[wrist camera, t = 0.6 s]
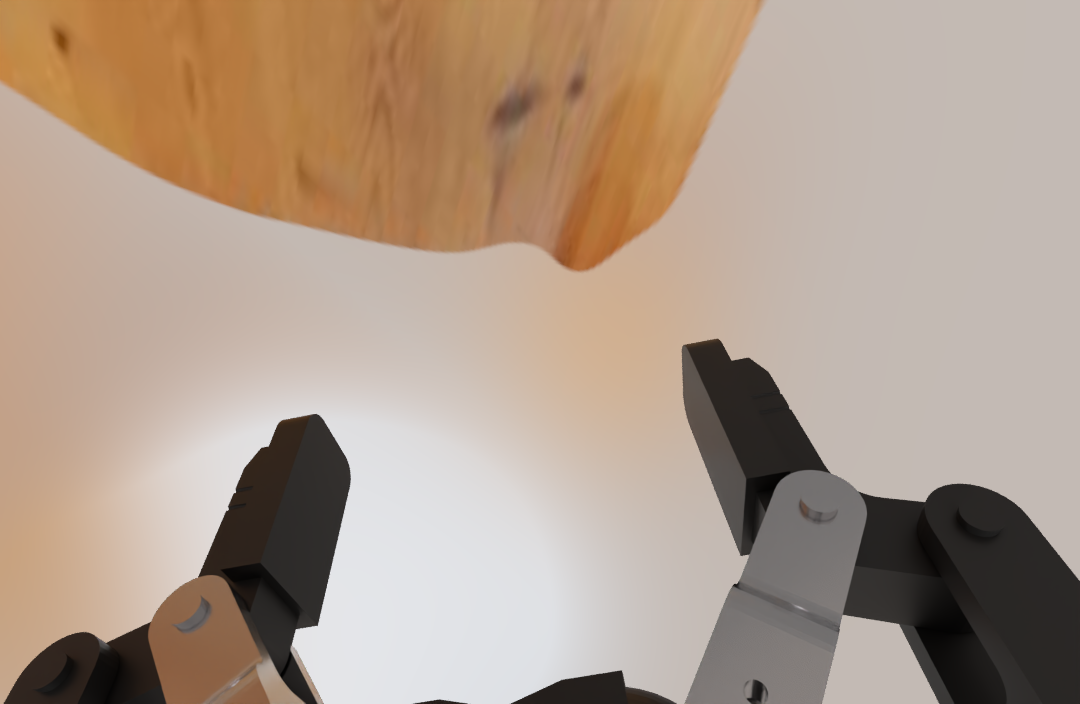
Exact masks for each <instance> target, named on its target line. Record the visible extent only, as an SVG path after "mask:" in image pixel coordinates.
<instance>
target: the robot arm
mask: <svg viewBox="0 0 1080 704" xmlns="http://www.w3.org/2000/svg"><path fill="white" fill-rule="evenodd" d="M682 367H683V368H682V370H683V398H684V405H685V410H686V415H687V418H688V422H689V425H690V427H691V430H692V433H693V435H694V438H695V440H696V443H697V445H698V448H699V450H700V453H701V456H702V458H703V461H704V463H705V466H706V468H707V471H708V473H709V476H710V478H711V481H712V484H713V486H714V489H715V491H716V494H717V497H718V498H719V501H720V504H721V506H722V509H723V512H724V515H725V517H726V520H727V522H728V524H729V527H730V530H731V532H732V535H733V538H734V540H735V543H736V545H737V548H738V550H739V552H740V555H741V556H743V555H749V554H750V555H749V558H748V561H747V564H746V566H745V568H744V571H743V573H742V576H741V578H740V580H739V582H738V583H737V584H734V585H733V586H732V588H731V589H730V592H729V594H728V596H727V598H726V600H725V603H724V605H723V608H722V610H721V613H720V615H719V618H718V620H717V623H716V625H715V628H714V630H713V633H712V636H711V638H710V641H709V643H708V646H707V648H706V651H705V653H704V656H703V658H702V661H701V663H700V666H699V668H698V671H697V674H696V676H695V679H694V681H693V684H692V686H691V689H690V691H689V694H688V696H687V699H686V702H685V704H822V700H823V697H824V692H825V689H826V685H827V680H828V676H829V672H830V668H831V664H832V660H833V656H834V652H835V648H836V644H837V640H838V635H839V630H840V629H839V627H840V623H841V619H842V615H848V616H854V617H861V618H866V619H873V620H879V621H885V622H891V623H897V624H899V625H900V627H901V629H902V630H903V633H904V635H905V637H906V639H907V641H908V642H909V645H910V646H911V649H912V650H913V652H914V654H915V656H916V658H917V660H918V662H919V664H920V666H921V668H922V670H923V672H924V674H925V676H926V678H927V680H928V682H929V684H930V686H931V688H932V690H933V692H934V694H935V696H936V698H937V700H938V702H939V704H1080V581H1079V580H1078V578H1077V577H1076V576H1075V575H1074V574H1073V572H1072V571H1071V570H1070V568H1069V567H1068V566H1067V565H1066V563H1065V562H1064V561H1063V560H1062V558H1061V557H1060V556H1059V555H1058V554H1057V552H1056V551H1055V550H1054V548H1053V547H1052V546H1051V545H1050V543H1049V542H1048V541H1047V540H1046V538H1045V537H1044V536H1043V535H1042V533H1041V532H1040V531H1039V530H1038V528H1037V527H1036V526H1035V525H1034V524H1033V522H1032V521H1031V520H1030V518H1029V517H1028V516H1027V515H1026V514H1025V513H1024V512H1023V510H1022V509H1021V508H1020V507H1018V506H1017V505H1016V504H1015V503H1013V502H1012V501H1011V500H1009V499H1007V498H1006V497H1004V496H1002V495H1000V494H998V493H997V492H994V491H992V490H989V489H986V488H983V487H980V486H975V485H970V484H951V485H945V486H942V487H940V488H938V489H936V490H934V491H933V492H932V493H931V494H930V495H929V496H928V498H927V500H926V502H918V501H908V500H899V499H889V498H881V497H874V496H870V495H867V494H863V493H861V492H858V491H857V490H856V489H855V488H854V487H853V486H852V485H851V484H849V483H848V482H847V481H845V480H844V479H842V478H840V477H838V476H836V475H833V474H831V473H830V472H829V471H828V469H827V468H826V466H825V465H824V464H823V462H822V460H821V458H820V457H819V455H818V453H817V452H816V450H815V449H814V447H813V445H812V443H811V442H810V440H809V438H808V437H807V435H806V434H805V432H804V430H803V428H802V427H801V425H800V423H799V422H798V420H797V419H796V417H795V415H794V414H793V412H792V410H790V409H789V406H788V404H787V402H786V400H785V399H784V397H783V395H782V394H780V390H779V389H778V387H777V385H776V384H775V382H774V380H773V379H772V377H771V375H770V374H769V372H768V371H766V370H765V369H764V368H762V367H761V366H760V365H758V364H757V363H755V362H754V361H753V360H751V359H750V358H744V359H739V360H734V361H731V359H730V357H729V355H728V353H727V352H726V350H725V348H724V346H723V344H722V342H721V341H720V340H719V339H713V340H708V341H702V342H697V343H692V344H687V345H683V347H682ZM350 477H351V476H350V468H349V464H348V461H347V459H346V457H345V455H344V453H343V452H342V450H341V448H340V447H339V445H338V443H337V442H336V440H335V438H334V437H333V435H332V434H331V432H330V430H329V429H328V427H327V425H326V424H325V422H324V420H323V419H322V418H321V417H320V416H319V415H317V414H312V415H307V416H302V417H297V418H291V419H286V420H282V421H281V422H280V423H279V424H278V425H277V428H276V430H275V432H274V435H273V437H272V440H271V443H270V445H269V447H264V448H261V449H260V450H259V451H258V453H257V454H256V455H255V456H254V457H253V459H252V460H251V461H250V462H249V463H248V465H247V466H246V467H245V468H244V470H243V473H242V475H241V478H240V480H239V482H238V484H237V487H236V493H234V494H233V496H232V499H231V501H230V504H229V506H228V507H229V510H228V511H226V513H225V515H224V518H223V520H222V522H221V525H220V527H219V529H218V532H217V534H216V536H215V539H214V541H213V543H212V546H211V548H210V551H209V553H208V555H207V558H206V560H205V562H204V565H203V568H202V569H201V572H200V574H199V576H198V578H195V579H193V580H191V581H189V582H187V583H185V584H184V585H182V586H180V587H179V588H178V589H177V590H175V591H174V592H173V593H172V594H171V595H170V596H169V597H167V599H166V600H165V601H164V602H163V603H162V604H161V606H160V607H159V608H158V610H157V611H156V613H155V615H154V617H153V619H152V621H151V622H150V623H148V624H145V625H143V626H141V627H139V628H137V629H135V630H133V631H131V632H129V633H126V634H124V635H122V636H120V637H118V638H116V639H114V640H111V641H109V642H107V643H105V642H103V641H102V640H100V639H99V638H97V637H96V636H95V635H93V634H91V633H87V632H80V633H75V634H72V635H69V636H66V637H64V638H62V639H60V640H58V641H56V642H55V643H53V644H52V645H51V646H49V647H47V648H46V649H45V650H44V651H42V652H41V653H40V654H39V655H38V656H37V657H36V658H35V659H34V660H33V661H32V662H31V663H30V664H29V665H28V666H27V667H26V668H25V670H24V671H23V672H22V673H21V675H20V676H19V678H18V679H17V681H16V683H15V684H14V686H13V688H12V690H11V691H10V693H9V695H8V697H7V699H6V701H5V702H4V704H324V703H323V701H322V699H321V697H320V695H319V693H318V691H317V689H316V688H315V686H314V684H313V682H312V680H311V678H310V676H309V674H308V672H307V670H306V668H305V666H304V664H303V662H302V660H301V659H300V657H299V655H298V653H297V651H296V650H295V648H294V647H293V646H292V642H293V637H294V633H295V630H296V629H300V628H306V627H312V626H318V622H319V618H320V613H321V609H322V604H323V600H324V596H325V592H326V588H327V583H328V579H329V575H330V570H331V566H332V561H333V557H334V553H335V548H336V544H337V540H338V536H339V531H340V527H341V522H342V518H343V514H344V509H345V505H346V500H347V496H348V492H349V487H350V480H351V478H350ZM415 704H466V703H459V702H452V701H446V700H434V701H427V702H421V703H415ZM511 704H676V703H674V702H673V701H671V700H669V699H667V698H664V697H662V696H660V695H658V694H655V693H652V692H648V691H645V690H641V689H636V688H629V687H625V682H624V678H623V673H622V671H615V672H609V673H603V674H596V675H590V676H584V677H578V678H571V679H565V680H561V681H559V682H556V683H554V684H552V685H550V686H548V687H546V688H544V689H541V690H539V691H537V692H535V693H533V694H531V695H528V696H526V697H524V698H522V699H520V700H518V701H516V702H513V703H511Z"/></svg>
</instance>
